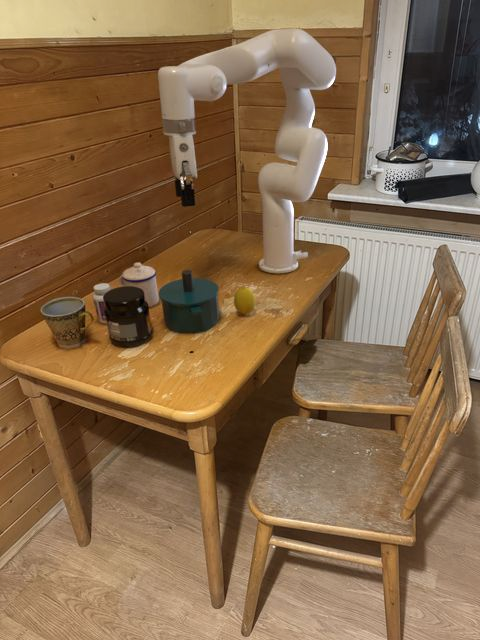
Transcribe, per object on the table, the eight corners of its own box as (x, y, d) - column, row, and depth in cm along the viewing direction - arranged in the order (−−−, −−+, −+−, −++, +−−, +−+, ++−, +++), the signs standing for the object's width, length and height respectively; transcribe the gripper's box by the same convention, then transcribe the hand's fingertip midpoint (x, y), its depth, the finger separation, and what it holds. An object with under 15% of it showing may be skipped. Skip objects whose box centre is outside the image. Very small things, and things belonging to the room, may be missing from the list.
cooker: (210, 300, 143) (208, 273, 139) (227, 332, 127) (225, 304, 123) (160, 308, 139) (156, 281, 135) (171, 342, 123) (166, 313, 119)
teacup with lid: (166, 298, 144) (161, 260, 138) (146, 312, 137) (139, 272, 131) (133, 291, 149) (127, 253, 143) (112, 303, 142) (104, 265, 136)
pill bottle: (122, 316, 136) (116, 283, 131) (111, 325, 132) (104, 291, 126) (105, 313, 137) (98, 280, 132) (94, 322, 133) (86, 289, 128)
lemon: (234, 310, 137) (233, 283, 133) (255, 309, 137) (254, 282, 133) (235, 320, 132) (233, 292, 128) (256, 318, 133) (255, 291, 128)
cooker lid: (211, 278, 137) (210, 257, 134) (225, 302, 125) (223, 279, 122) (155, 287, 133) (152, 265, 130) (163, 312, 121) (160, 288, 118)
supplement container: (153, 325, 131) (146, 282, 125) (153, 346, 122) (145, 301, 116) (111, 329, 130) (102, 286, 123) (108, 351, 121) (98, 306, 114)
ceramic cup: (42, 348, 122) (31, 312, 117) (68, 329, 130) (59, 294, 125) (86, 358, 119) (77, 320, 113) (111, 337, 126) (103, 301, 121)
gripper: (201, 131, 112) (206, 208, 121) (189, 121, 126) (194, 191, 135) (167, 132, 110) (175, 211, 119) (158, 123, 124) (166, 193, 133)
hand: (185, 200), depth 127 cm, fingers open, 9 cm apart
